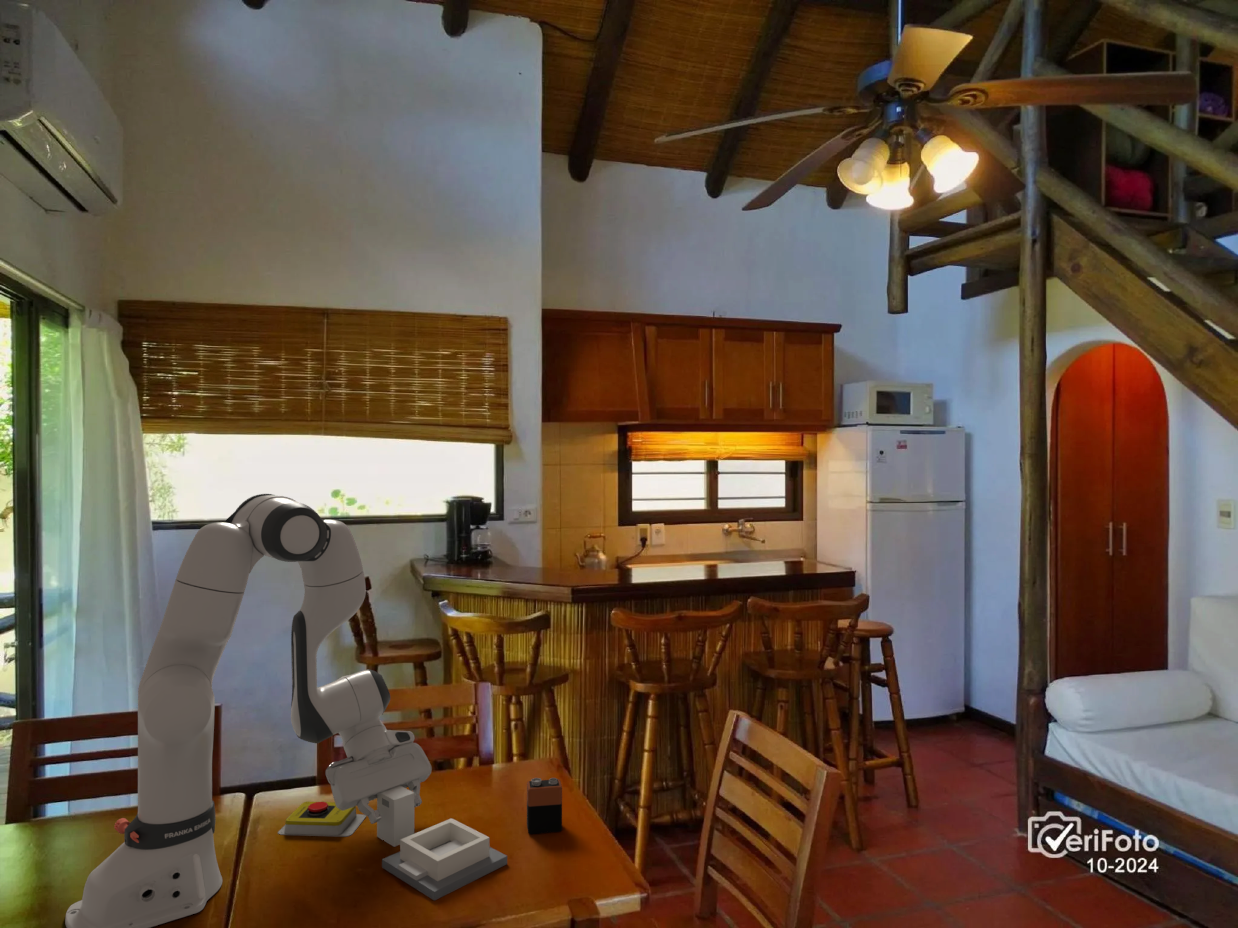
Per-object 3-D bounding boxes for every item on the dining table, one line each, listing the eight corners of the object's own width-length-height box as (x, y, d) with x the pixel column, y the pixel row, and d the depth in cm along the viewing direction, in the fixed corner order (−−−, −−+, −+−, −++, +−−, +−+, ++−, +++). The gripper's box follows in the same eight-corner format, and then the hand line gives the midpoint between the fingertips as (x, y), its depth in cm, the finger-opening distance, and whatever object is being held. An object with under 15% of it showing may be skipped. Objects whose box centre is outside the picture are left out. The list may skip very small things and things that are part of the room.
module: (393, 846, 150) (394, 800, 150) (376, 836, 154) (376, 791, 154) (414, 838, 154) (414, 792, 154) (397, 828, 158) (397, 783, 158)
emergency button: (297, 794, 164) (367, 796, 164) (297, 815, 164) (367, 817, 164) (275, 814, 155) (350, 816, 154) (275, 837, 155) (350, 839, 154)
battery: (526, 824, 160) (526, 775, 159) (559, 822, 161) (560, 773, 161) (528, 835, 155) (528, 784, 155) (562, 832, 157) (562, 782, 156)
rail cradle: (434, 900, 132) (434, 870, 132) (381, 867, 143) (382, 839, 143) (507, 863, 144) (507, 836, 144) (453, 835, 155) (454, 810, 155)
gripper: (328, 757, 151) (355, 823, 144) (419, 729, 166) (446, 788, 160) (316, 773, 154) (342, 839, 147) (406, 745, 169) (433, 804, 163)
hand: (397, 813), depth 154 cm, fingers open, 8 cm apart
